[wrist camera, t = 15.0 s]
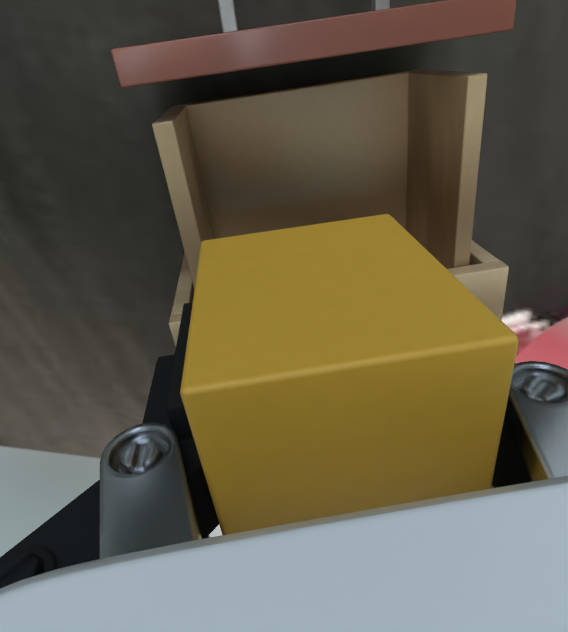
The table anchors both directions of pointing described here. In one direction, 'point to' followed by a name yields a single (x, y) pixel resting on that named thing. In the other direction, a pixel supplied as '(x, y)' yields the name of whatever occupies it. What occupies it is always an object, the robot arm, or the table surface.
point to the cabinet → (479, 277)
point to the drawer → (324, 128)
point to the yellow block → (339, 374)
